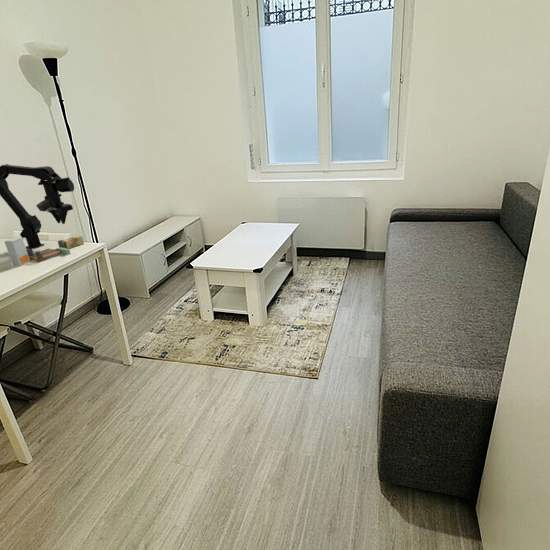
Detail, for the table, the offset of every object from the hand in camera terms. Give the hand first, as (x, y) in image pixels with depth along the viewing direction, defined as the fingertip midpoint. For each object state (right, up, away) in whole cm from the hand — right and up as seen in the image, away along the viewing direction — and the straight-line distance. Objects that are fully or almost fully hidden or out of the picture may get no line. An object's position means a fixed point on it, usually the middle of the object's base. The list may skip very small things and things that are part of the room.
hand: (61, 223), depth 197 cm
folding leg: (+6, -12, -1) cm, 13 cm away
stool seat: (-1, -17, -11) cm, 20 cm away
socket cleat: (+7, -16, -10) cm, 20 cm away
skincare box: (-8, -21, -19) cm, 29 cm away
